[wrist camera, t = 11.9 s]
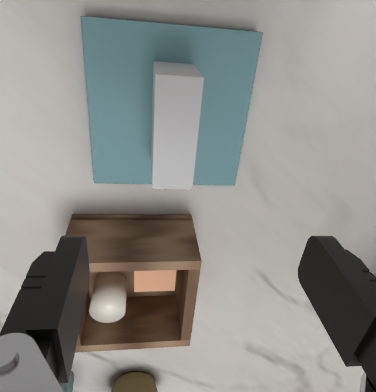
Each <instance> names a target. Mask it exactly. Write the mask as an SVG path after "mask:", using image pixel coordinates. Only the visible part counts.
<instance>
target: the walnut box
mask: <svg viewBox="0 0 376 392" xmlns="http://www.w3.org/2000/svg"><path fill="white" fill-rule="evenodd" d="M65 236H85V237H86V240H87V249H88V259H89V269H90V280H89V288H88V293H87V298H86V302H85V307H84V312H83V316H82V321H81V326H80V330H79V335H78V340H77V344H76V349H75V352H90V351H108V350H125V349H142V348H160V347H177V346H190V339H191V332H192V324H193V317H194V310H195V303H196V296H197V289H198V282H199V274H200V267H201V257H200V252H199V248H198V243H197V239H196V234H195V230H194V225H193V220H192V216H191V215H72V217H71V220H70V223H69V226H68V229H67V232H66V235H65ZM157 270H176V281H175V291H151V292H134V271H157ZM113 271H119V272H121V273H122V274H124V275H125V276H126V278H127V295H126V311H125V315H124V316H123V317H122V318H121V319H120V320H118V321H116V322H111V323H103V322H99V321H96V320H94V319H93V318H92V317H91V316H90V313H89V309H90V303H91V298H92V292H93V287H94V282H95V278H96V276H97V275H98V274H99V273H101V272H113Z"/></svg>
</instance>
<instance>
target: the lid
mask: <svg viewBox="0 0 376 392" xmlns="http://www.w3.org/2000/svg"><path fill="white" fill-rule="evenodd" d="M81 26H82V38H83V51H84V63H85V76H86V88H87V101H88V113H89V126H90V138H91V150H92V163H93V175H94V183H112V184H152V189H192V188H193V185H235V181H236V176H237V170H238V165H239V159H240V154H241V148H242V143H243V137H244V132H245V127H246V121H247V116H248V110H249V105H250V99H251V94H252V88H253V83H254V78H255V72H256V67H257V61H258V56H259V50H260V45H261V39H262V34H263V33H262V32H256V31H245V30H234V29H223V28H211V27H200V26H189V25H178V24H167V23H156V22H145V21H134V20H123V19H112V18H100V17H89V16H81Z"/></svg>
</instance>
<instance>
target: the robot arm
mask: <svg viewBox="0 0 376 392" xmlns="http://www.w3.org/2000/svg"><path fill="white" fill-rule="evenodd" d="M298 278H299V281H300V284H301V286H302V288H303V289H304V291H305V293H306V295H307V297H308V298H309V300H310V302H311V304H312V306H313V307H314V309H315V311H316V313H317V315H318V316H319V318H320V320H321V322H322V324H323V326H324V327H325V329H326V331H327V333H328V335H329V336H330V338H331V340H332V342H333V344H334V345H335V347H336V349H337V351H338V353H339V354H340V356H341V358H342V360H343V362H344V364H345V365H346V367H347V366H362V368H363V370H364V371H365V372H364V373H363V375H362V377H361V384H360V392H376V277H375V276H374V275H373V274H372V273H370V272H369V269H368V268H367V267H366V266H365V264H364V263H363V262H362V261H361V260H360V259H359V258H358V257H356V256H355V255H354V254H352V253H351V252H349V251H348V250H344V248H343V247H342V246H341V245H340V243H339V242H338V241H337V240H336V239H335V238H334V237H333V236H311V237H310V238H309V239H308V241H307V244H306V247H305V250H304V253H303V255H302V258H301V261H300V264H299V267H298ZM89 280H90V269H89V259H88V249H87V240H86V237H85V236H62V237H61V238H60V241H59V243H58V246H57V248H56V251H55V252H43V253H42V254H41V255H40V256H39V257H38V258H37V259H36V260H35V261H34V262H33V263H32V264H31V266H30V269H29V271H28V273H27V275H26V279H25V280H24V282H23V284H22V286H21V290H20V291H19V293H18V295H17V297H16V299H15V302H14V304H13V306H12V308H11V310H10V313H9V315H8V317H7V319H6V321H5V324H4V326H3V328H2V330H1V332H0V392H63V390H62V388H61V386H60V385H59V383H68V382H69V377H70V373H71V368H72V363H73V359H74V354H75V349H76V344H77V340H78V335H79V330H80V326H81V321H82V316H83V312H84V307H85V302H86V298H87V293H88V288H89Z"/></svg>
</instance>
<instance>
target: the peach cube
mask: <svg viewBox="0 0 376 392" xmlns="http://www.w3.org/2000/svg"><path fill="white" fill-rule="evenodd" d="M175 281H176V270H157V271H134V292H151V291H175Z"/></svg>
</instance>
